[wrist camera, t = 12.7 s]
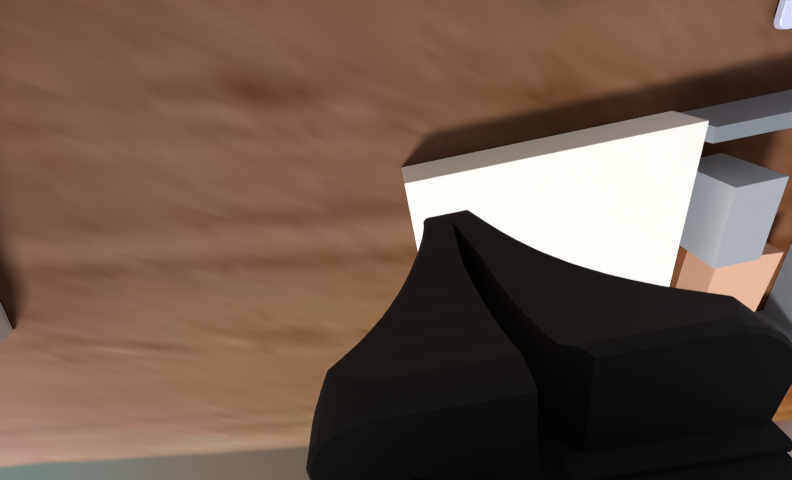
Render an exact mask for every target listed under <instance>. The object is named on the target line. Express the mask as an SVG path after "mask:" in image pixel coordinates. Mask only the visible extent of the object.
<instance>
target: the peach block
mask: <svg viewBox="0 0 792 480" xmlns="http://www.w3.org/2000/svg"><path fill="white" fill-rule="evenodd" d="M783 253H784V252H783V251H781V250H779V249H777V248H775V247H773V246H771V245H770V244H768V243H765V246H764V249H763V252H762V255H761V258H760V259H759V260H754V261H749V262H744V263H739V264H734V265H729V266H725V267H720V268H715V269H713V268H712V267H710V266H709V265H708V264H706V263H705V262H703V261H702V260H700V259H699V258H698V257H696V256H695V255H693V254H692V253H690V252H689V251H687V254H686V257H685V260H684V264H683V267H682V270H681V273H680V276H679V279H678V282H677V285H676V288H680V289H687V290H694V291H701V292H708V293H715V294H722V295H729V296H733V297H734V298H736V299H737V300H739V301H740V302H742V303H743V304H744V305H746V306H747V307H748V308H750V309H751V310H752V311H754V312H755V311H756V309H757V307H758V305H759V303H760V300H761V298H762V296H763V294H764V292H765V290H766V288H767V286H768V284H769V282H770V280H771V278H772V275H773V273H774V271H775V269H776V267H777V265H778V263H779V261H780V259H781V257H782V255H783Z"/></svg>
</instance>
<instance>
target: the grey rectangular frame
mask: <svg viewBox="0 0 792 480" xmlns="http://www.w3.org/2000/svg"><path fill="white" fill-rule="evenodd" d="M681 113H682V114H686V115H690V116H694V117H697V118H701V119H705V120H709V123H708V128H707V132H706V136H705V140H704V141H706V142H709V143H712V144H713V143H718V142H723V141H728V140H733V139H738V138H743V137H748V136H753V135H758V134H762V133H767V132H772V131H777V130H782V129H787V128H792V89H791V90H786V91H781V92H776V93H772V94H767V95H762V96H757V97H753V98H748V99H743V100H738V101H733V102H729V103H724V104H719V105H714V106H710V107H705V108H700V109H695V110H690V111H686V112H681ZM755 313H756V314H758V315H759V316H760V317H762V318H763V319H765V320H766V321H767V322H769V323H770V324H771V325H773V326H774V327H775V328H777V329H778V330H779V331H781V332H782V333H783V334H785V335H786V336H787V337H788V338H789V339H790V341H791V342H792V243H791V245H790V248H789V250H788V252H787V255H786V257H785V260H784V262H783V264H782V267H781V269H780V271H779V274H778V276H777V278H776V281H775V283H774V285H773V288H772V290H771V292H770V295H769V297H768V299H767V302H766V304H765V306H764V309H763V310H760V311H755Z"/></svg>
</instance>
